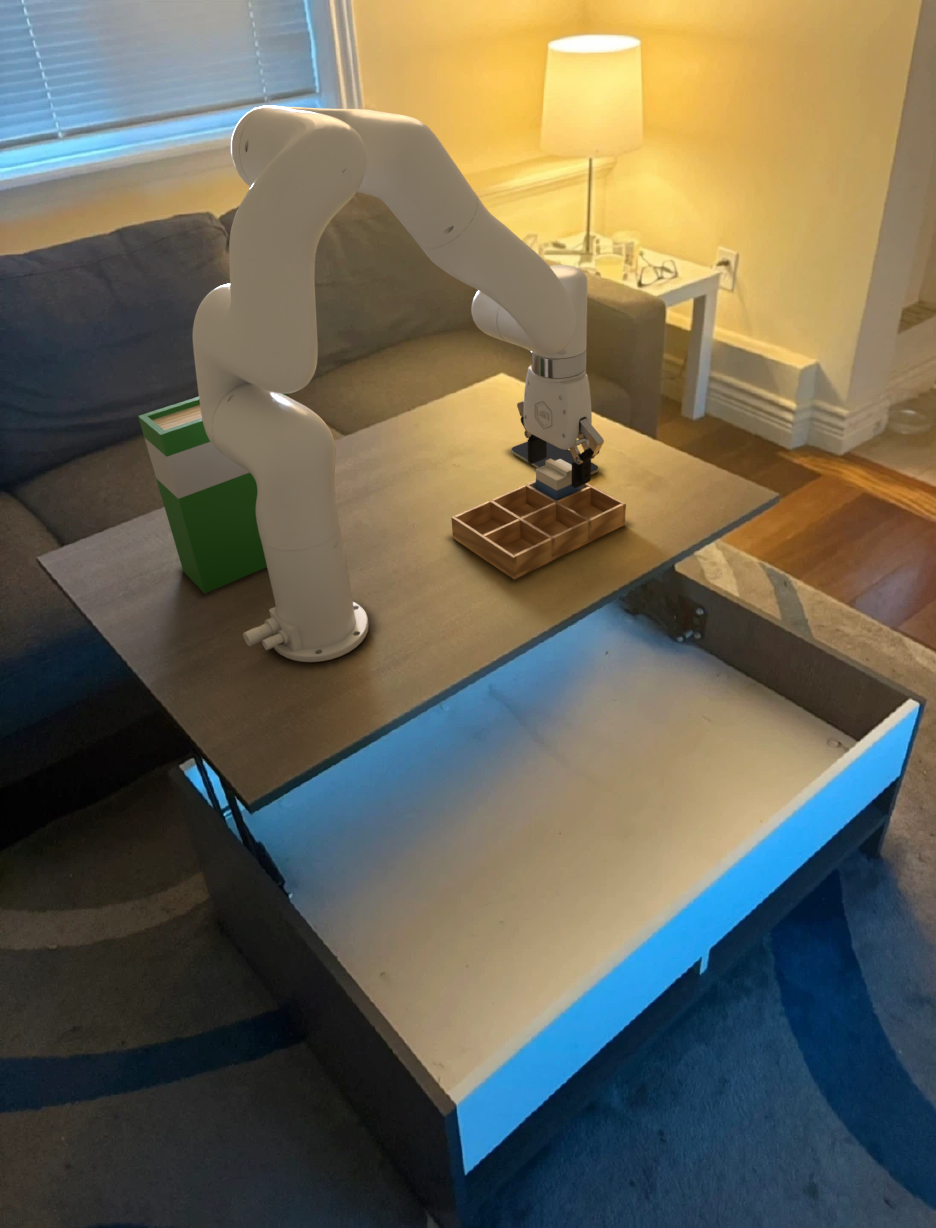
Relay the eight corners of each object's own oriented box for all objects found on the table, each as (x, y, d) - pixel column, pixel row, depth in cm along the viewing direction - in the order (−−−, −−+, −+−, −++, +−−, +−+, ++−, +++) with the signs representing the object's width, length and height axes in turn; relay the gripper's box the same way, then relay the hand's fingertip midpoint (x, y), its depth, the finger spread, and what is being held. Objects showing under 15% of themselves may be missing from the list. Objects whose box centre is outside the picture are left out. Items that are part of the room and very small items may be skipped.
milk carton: (556, 513, 141) (556, 476, 137) (535, 501, 144) (535, 464, 140) (581, 502, 143) (582, 465, 139) (560, 490, 146) (560, 454, 142)
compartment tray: (514, 579, 129) (513, 557, 127) (452, 538, 138) (451, 517, 136) (625, 524, 139) (626, 503, 136) (560, 489, 148) (560, 468, 146)
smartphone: (543, 435, 161) (601, 467, 151) (543, 438, 162) (601, 471, 151) (508, 448, 158) (565, 481, 148) (508, 452, 159) (565, 485, 148)
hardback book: (291, 526, 144) (261, 376, 129) (316, 546, 139) (287, 392, 124) (183, 570, 136) (138, 415, 121) (204, 593, 131) (160, 434, 116)
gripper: (497, 351, 134) (502, 460, 144) (581, 388, 123) (579, 503, 133) (538, 337, 137) (540, 444, 148) (623, 371, 126) (618, 485, 136)
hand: (558, 472), depth 140 cm, fingers open, 9 cm apart
